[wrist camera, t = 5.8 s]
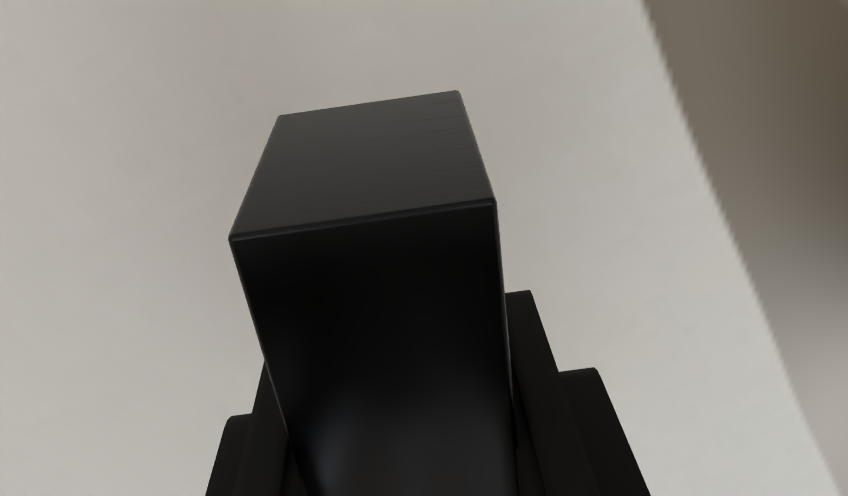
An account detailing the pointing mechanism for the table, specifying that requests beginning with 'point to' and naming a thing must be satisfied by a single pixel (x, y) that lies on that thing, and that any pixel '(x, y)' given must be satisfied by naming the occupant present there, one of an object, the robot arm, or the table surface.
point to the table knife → (382, 299)
